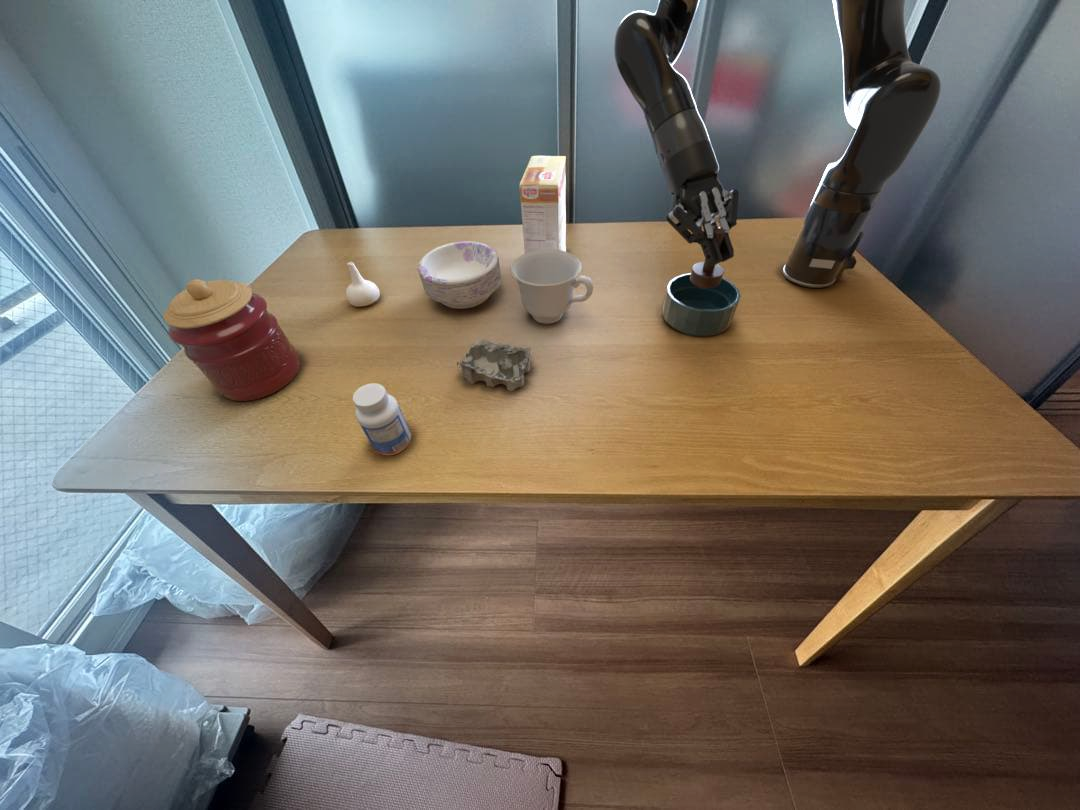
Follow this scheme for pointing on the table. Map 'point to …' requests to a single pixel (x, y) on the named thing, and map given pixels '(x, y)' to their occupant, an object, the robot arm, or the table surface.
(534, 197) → the coffeecake box
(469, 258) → the paper bowls
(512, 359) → the egg carton
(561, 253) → the teacup
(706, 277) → the coffee tamper
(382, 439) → the pill bottle
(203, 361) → the kitchen canister
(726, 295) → the bowl
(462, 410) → the table surface
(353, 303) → the garlic bulb
